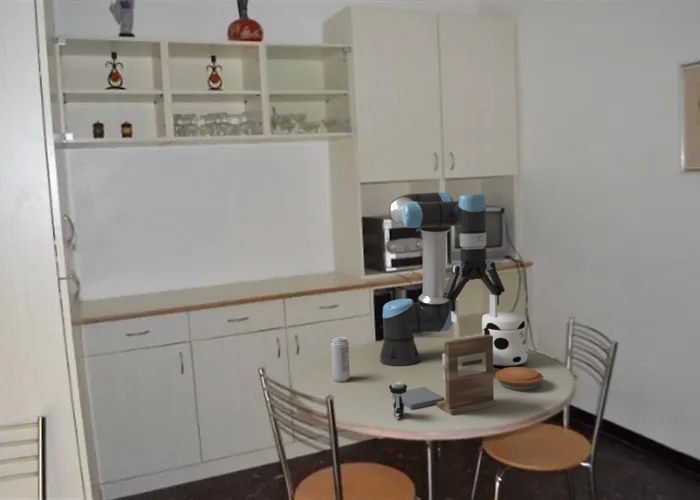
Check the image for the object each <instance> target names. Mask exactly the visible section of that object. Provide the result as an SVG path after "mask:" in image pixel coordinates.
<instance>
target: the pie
mask: <svg viewBox="0 0 700 500" xmlns="http://www.w3.org/2000/svg"><path fill="white" fill-rule="evenodd" d="M494 375H495V378H496V379H497V381H499V382H498V383H500V385H501V386H502V387H503V388H504V389H506V390H511V391H515V392H528V391H533V390H534V389H536V388H537V387H538V385H539V384H540V382H542V381H543V379H544V375H543V374H542V373H540V372H538V370H536V369H533V368H530V367H524V366H515V367H503V368H502V369H499V370H498V371H496V372H495V374H494Z"/></svg>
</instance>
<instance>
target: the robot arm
mask: <svg viewBox="0 0 700 500" xmlns="http://www.w3.org/2000/svg"><path fill="white" fill-rule="evenodd" d="M388 209H389V212H388V213H389V216H390V219H392V221H393V222H395V223H397V224H399V225H403V226H404V227H405V228H407V229H408V228H411V229H417V228H418V230H419V231H420V232H421V234H423V235H422V239H423V240H422V293H421V294H420V295H419V296H418V301H417V302H414V300H413V299H412V298H399V299H394V300H390V301H388V302H386V303H385V304H384V305H383V307H382V321H383V322H382V323H383V324H382V325H383V326H382V327H383V342H382V346H381V350H380V353H379V362H380V363H382V364H383V365H388V366H393V367H394V366H398V367H401V366H403V367H404V366H411V365H414V364H417V363H418V362H419V361H420V353H419V350H418V348H417V344H416V342H415V334H420V333H421V334H423V333H441V332H447V331H449V330H450V329H451V328H452V325H453V323H455V324H459V323H460V313H459V312H460V311H459V300H458V299H457V298H458V297H459V295H460V294H461V292H462V291H463V289H464V287H465V286H466V284H467V283H468V282H470V280H471V281H474V280H481V281H482V283H483V284H484V285H485V287H486V288H487V289H488V290H489V291H490V293H491V294H489V313H490V316H492V317H497V312H498V306H499V305H500V296H501V295H502V293H504V292H506V291H505V287H504V285H503V283H502V280H501V278H500V276H499V274H498V271H497V270H496V269H497V268H496V263H495V262H493V261H487V258H488V257H487V248H486V246H487V220H486V219H487V215H486V214H487V213H486V212H487V211H486V210H487V204H486V196H485V195H484V194H481V193H480V194H479V193H477V194H475V193H474V194H473V193H472V194H461V195H460V196H459V199H458V200H454V198H453V196H452V195H451V194H450V193H449V192H438V191H437V192H424V193H407V194H404V195H401V196H398V197H396V198H395V199H394V200H392V201H391V203H390V206H389V208H388ZM456 226H457V227H458V226H459V246H460V247H461V248H460V251H459V255H460V262H461V265H460V266H459V265H455V264H454V265H452V266H451V271H450V275H449V278H448V280H447V283H446V279H447V278H446V273H447V272H446V271H447V265H446V264H447V234H448V233H449V232H450V231H451V227H456ZM486 261H487V262H486ZM486 271H487V272H488V274H489V275H488V274H487V273H486ZM489 276H490V277H489ZM490 278H491V279H490Z"/></svg>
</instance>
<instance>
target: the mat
mask: <svg viewBox="0 0 700 500" xmlns="http://www.w3.org/2000/svg"><path fill="white" fill-rule="evenodd" d="M391 395H392V397H391V398H392V399H394V400H395V394H393V393H391ZM401 396H402V403H404V407H407V408H409V409H410V410H414V409H420V408H423V407H424V408H425V407H428V406H434V405H437V402H439V401H444V400H445V397H444V396H443V395H440V394H438V393H436V392H434V391H433V390H432V389H429V388H428V387H425V386H422V387H417V388H416V387H415V388H411V389H406V392H405V393H404V394H401Z"/></svg>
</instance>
